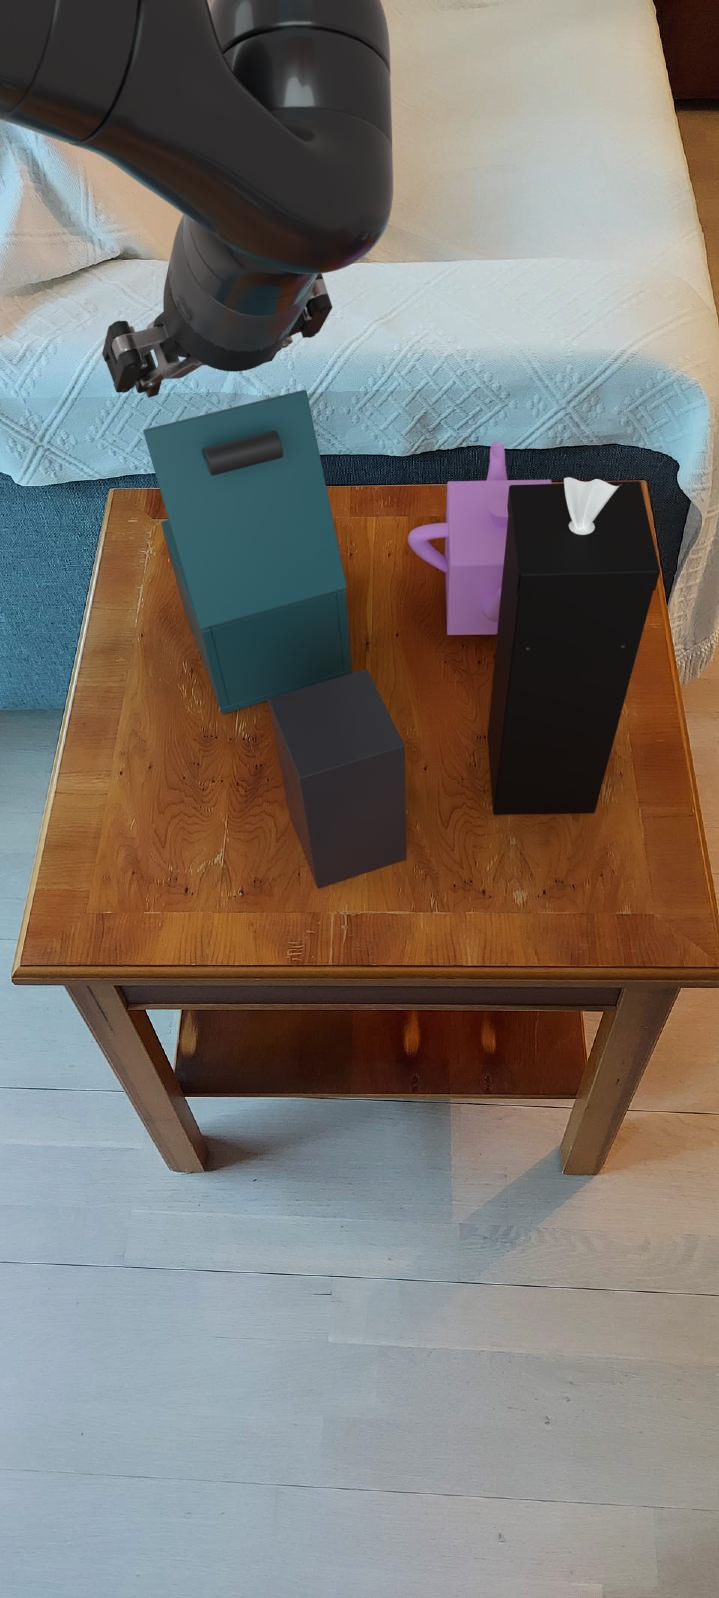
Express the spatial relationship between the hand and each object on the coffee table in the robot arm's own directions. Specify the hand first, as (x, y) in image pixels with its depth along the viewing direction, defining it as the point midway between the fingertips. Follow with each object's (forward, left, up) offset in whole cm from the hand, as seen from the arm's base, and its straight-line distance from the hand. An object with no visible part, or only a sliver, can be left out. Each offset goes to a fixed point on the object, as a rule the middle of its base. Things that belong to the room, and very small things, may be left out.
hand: (204, 364), depth 70 cm
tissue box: (+16, -26, -24) cm, 39 cm away
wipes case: (0, -4, -24) cm, 24 cm away
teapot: (+21, -7, -24) cm, 33 cm away
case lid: (0, -7, -8) cm, 10 cm away
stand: (0, -26, -24) cm, 35 cm away
